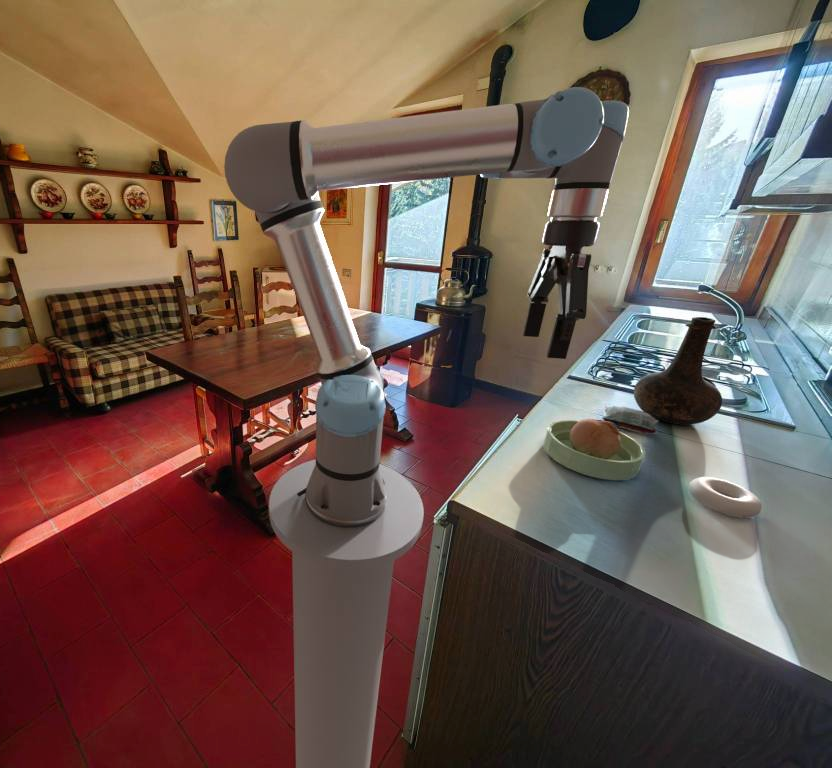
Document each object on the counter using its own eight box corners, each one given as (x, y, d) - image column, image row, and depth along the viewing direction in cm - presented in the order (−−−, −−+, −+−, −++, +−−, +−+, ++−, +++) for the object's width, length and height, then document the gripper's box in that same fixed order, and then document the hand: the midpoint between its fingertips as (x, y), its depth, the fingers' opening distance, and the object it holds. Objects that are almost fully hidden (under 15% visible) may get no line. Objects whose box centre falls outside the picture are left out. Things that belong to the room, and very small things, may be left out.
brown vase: (729, 433, 100) (780, 328, 90) (659, 432, 101) (702, 326, 90) (673, 404, 117) (710, 311, 106) (613, 402, 117) (644, 310, 106)
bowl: (580, 485, 80) (587, 464, 78) (526, 439, 96) (531, 421, 94) (659, 479, 82) (668, 459, 80) (593, 436, 98) (599, 418, 96)
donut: (677, 483, 81) (698, 512, 72) (683, 469, 80) (706, 497, 71) (739, 495, 77) (770, 528, 69) (747, 481, 76) (779, 512, 68)
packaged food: (602, 414, 110) (607, 398, 108) (656, 427, 103) (662, 411, 101) (599, 426, 103) (604, 409, 101) (655, 441, 96) (662, 423, 95)
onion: (601, 466, 90) (636, 435, 86) (593, 473, 83) (630, 439, 79) (564, 438, 95) (595, 407, 91) (554, 441, 88) (587, 408, 84)
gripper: (643, 219, 51) (596, 371, 59) (567, 220, 73) (541, 330, 82) (581, 218, 52) (543, 367, 60) (525, 220, 75) (503, 328, 83)
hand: (542, 346), depth 71 cm, fingers open, 13 cm apart
